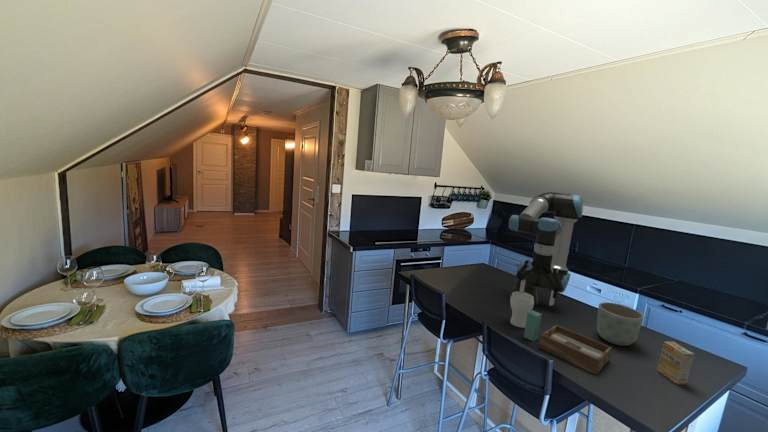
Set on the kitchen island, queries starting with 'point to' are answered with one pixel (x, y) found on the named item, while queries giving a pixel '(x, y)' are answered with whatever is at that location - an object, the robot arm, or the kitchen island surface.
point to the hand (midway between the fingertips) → (535, 299)
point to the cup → (520, 308)
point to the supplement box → (675, 362)
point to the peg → (532, 325)
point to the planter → (618, 323)
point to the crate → (575, 348)
